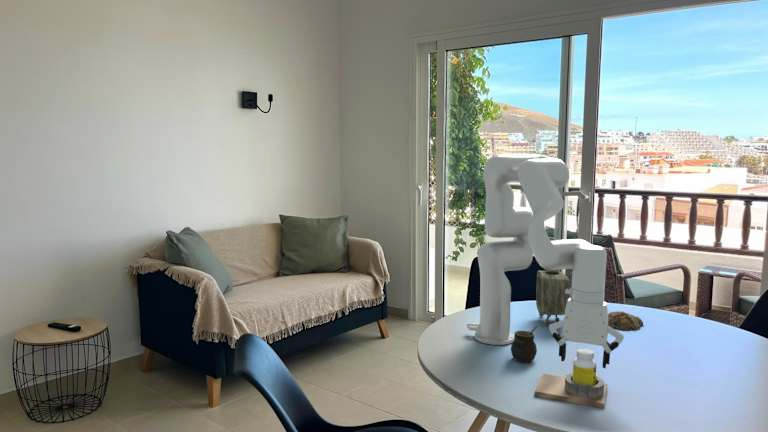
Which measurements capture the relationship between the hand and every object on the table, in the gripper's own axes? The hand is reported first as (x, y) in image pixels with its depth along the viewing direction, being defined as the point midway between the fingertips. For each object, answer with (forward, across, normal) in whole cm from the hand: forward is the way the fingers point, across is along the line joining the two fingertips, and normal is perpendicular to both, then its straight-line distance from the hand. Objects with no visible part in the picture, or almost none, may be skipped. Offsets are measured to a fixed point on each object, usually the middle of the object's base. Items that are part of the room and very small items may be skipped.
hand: (583, 362), depth 136 cm
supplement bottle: (+7, 0, 0) cm, 7 cm away
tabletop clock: (+9, -15, +56) cm, 59 cm away
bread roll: (+10, +8, +63) cm, 64 cm away
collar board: (+8, -2, -1) cm, 8 cm away
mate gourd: (+9, -17, +16) cm, 25 cm away
